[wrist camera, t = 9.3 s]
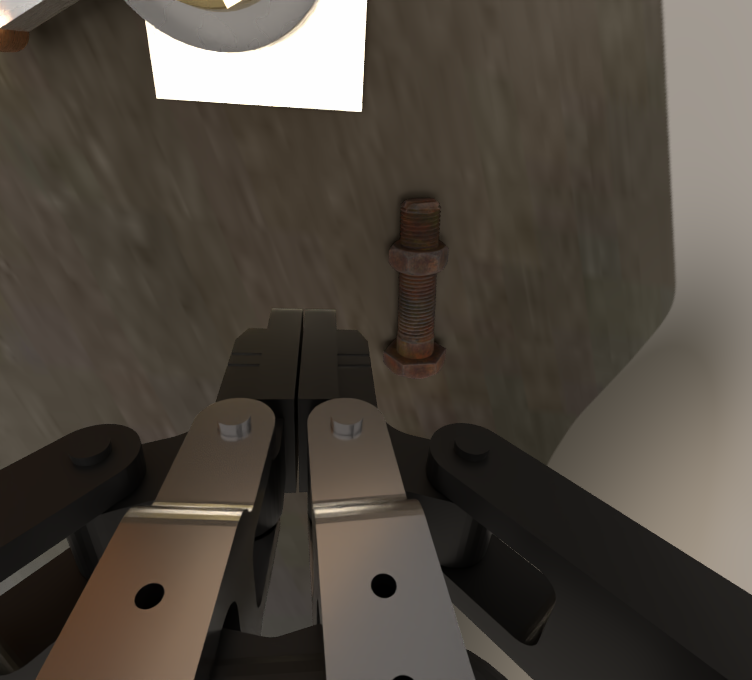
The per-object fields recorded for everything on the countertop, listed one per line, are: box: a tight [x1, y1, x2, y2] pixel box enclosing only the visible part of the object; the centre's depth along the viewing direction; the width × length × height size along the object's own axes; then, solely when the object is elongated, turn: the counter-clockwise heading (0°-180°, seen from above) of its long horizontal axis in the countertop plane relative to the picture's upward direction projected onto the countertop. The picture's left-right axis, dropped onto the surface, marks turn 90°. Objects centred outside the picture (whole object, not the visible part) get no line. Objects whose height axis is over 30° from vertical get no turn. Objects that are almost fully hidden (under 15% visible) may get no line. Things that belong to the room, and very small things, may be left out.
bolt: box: [383, 198, 449, 379], centre depth 41 cm, size 6×5×15 cm
